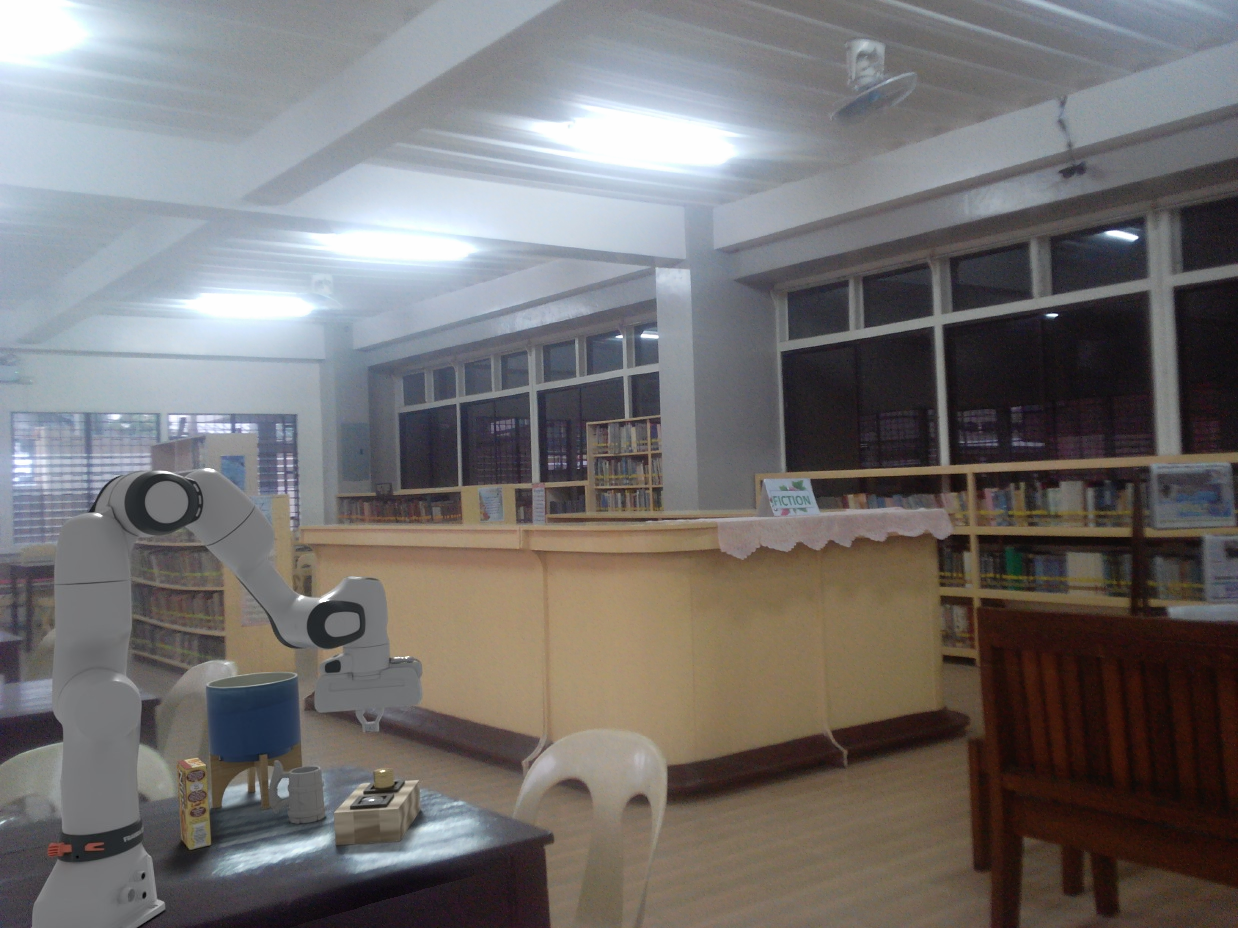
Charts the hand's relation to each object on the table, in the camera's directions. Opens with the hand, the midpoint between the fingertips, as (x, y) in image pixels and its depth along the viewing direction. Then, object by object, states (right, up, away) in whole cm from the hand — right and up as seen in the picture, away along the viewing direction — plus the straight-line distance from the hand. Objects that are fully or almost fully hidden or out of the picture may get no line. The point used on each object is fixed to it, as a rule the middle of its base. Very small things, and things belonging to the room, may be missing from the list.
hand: (371, 731), depth 201 cm
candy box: (-34, -22, 0) cm, 40 cm away
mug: (-18, -21, +12) cm, 30 cm away
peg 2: (+1, -16, +8) cm, 18 cm away
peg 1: (+1, -19, -2) cm, 19 cm away
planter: (-32, -23, +29) cm, 49 cm away
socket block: (+1, -19, +3) cm, 20 cm away
